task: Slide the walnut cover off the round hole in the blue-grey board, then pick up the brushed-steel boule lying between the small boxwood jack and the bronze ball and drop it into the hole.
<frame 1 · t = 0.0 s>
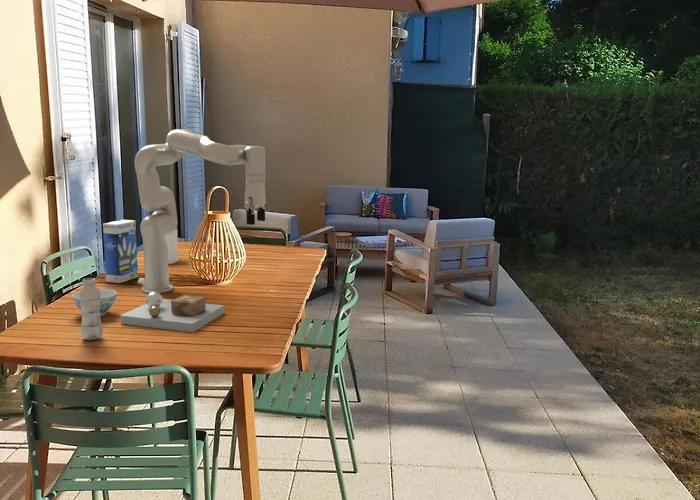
hand: (256, 222, 250), 31 cm above the table, tool pointing down, fingers open, 9 cm apart
chinaware: (96, 314, 234), on the table
bronze ball: (154, 311, 222), point 5 cm above the table, touching hole board
string lights box: (122, 279, 284), on the table
boxwood jack: (152, 298, 238), point 5 cm above the table, touching hole board
walnut cover: (188, 304, 228), point 6 cm above the table, slide at 0.0 cm
plastic bottle: (92, 339, 208), on the table
steel boule: (153, 300, 232), point 6 cm above the table, touching hole board
bottle: (164, 262, 320), on the table
hole board: (174, 318, 231), on the table
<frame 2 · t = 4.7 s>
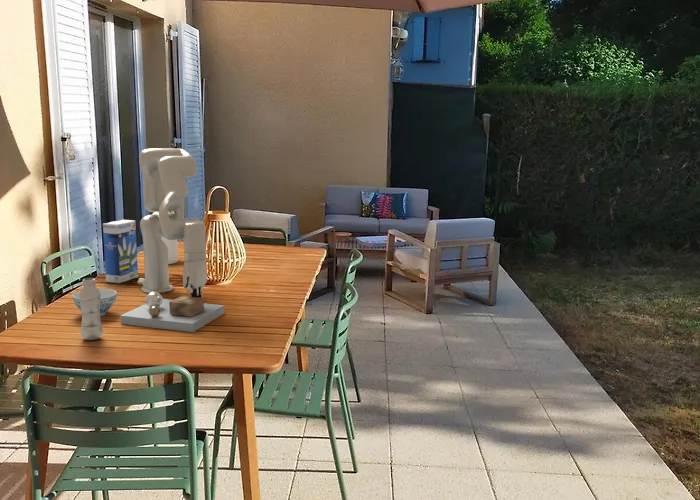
hand: (196, 305, 234), 4 cm above the table, tool pointing down, fingers closed
walnut cover: (186, 305, 227), point 6 cm above the table, slide at 1.2 cm, touching gripper
everything else where it was.
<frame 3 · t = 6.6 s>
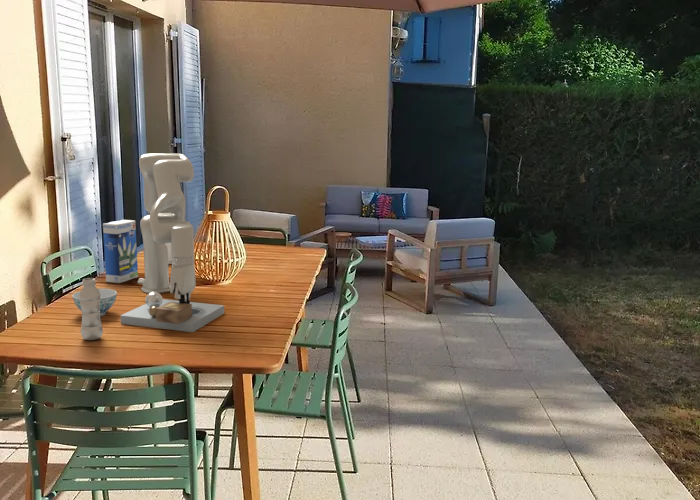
hand: (184, 311, 226), 4 cm above the table, tool pointing down, fingers closed
walnut cover: (174, 312, 219), point 6 cm above the table, slide at 9.7 cm, touching gripper
everything else where it was.
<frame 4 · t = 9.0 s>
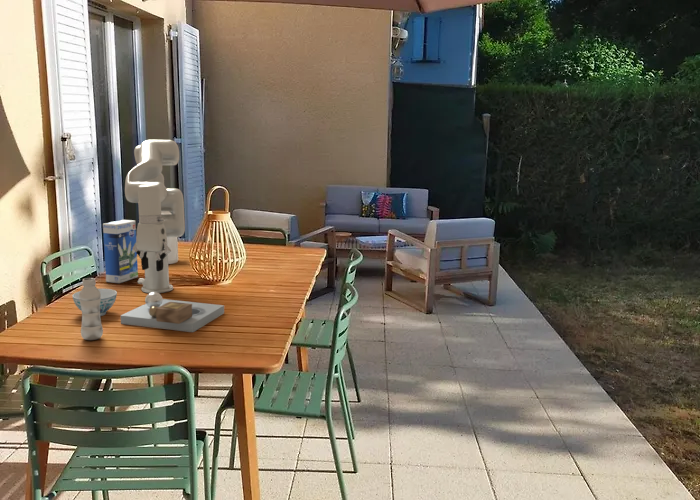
hand: (152, 269, 230), 17 cm above the table, tool pointing down, fingers open, 5 cm apart
walnut cover: (174, 312, 219), point 6 cm above the table, slide at 9.5 cm
everything else where it was.
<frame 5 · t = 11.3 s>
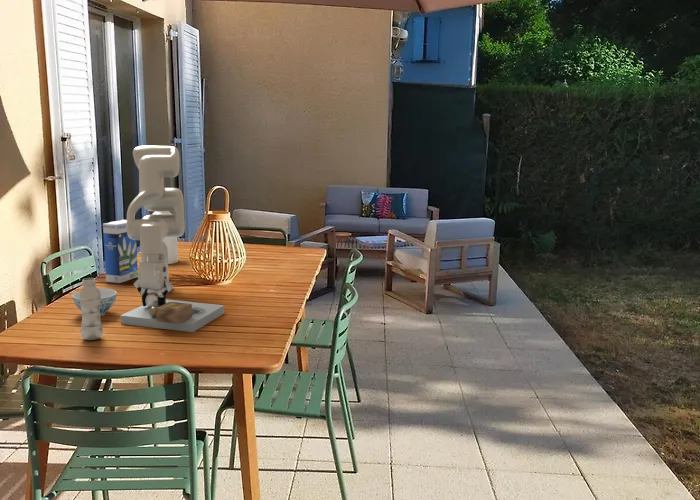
hand: (154, 305, 232), 4 cm above the table, tool pointing down, fingers closed on steel boule, 6 cm apart
steel boule: (153, 300, 232), point 6 cm above the table, touching gripper, hole board
everything else where it was.
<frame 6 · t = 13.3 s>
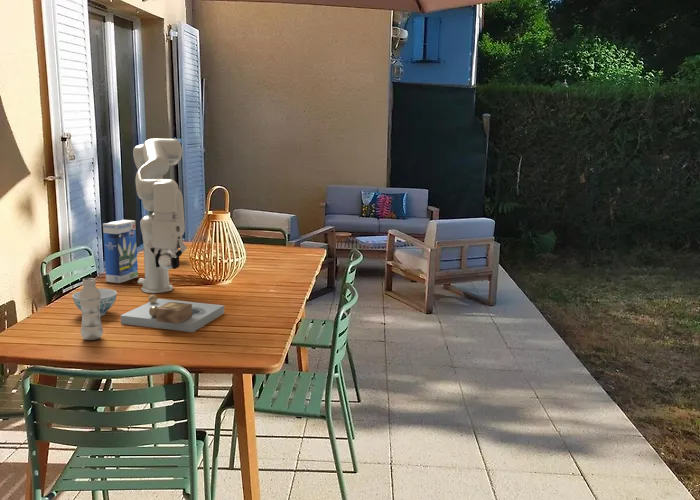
hand: (167, 266, 228), 19 cm above the table, tool pointing down, fingers closed on steel boule, 6 cm apart
steel boule: (167, 261, 227), point 21 cm above the table, touching gripper
everything else where it was.
when the fingers open (6 cm above the table, at t = 15.6 s): steel boule drops 5 cm, point 3 cm above the table.
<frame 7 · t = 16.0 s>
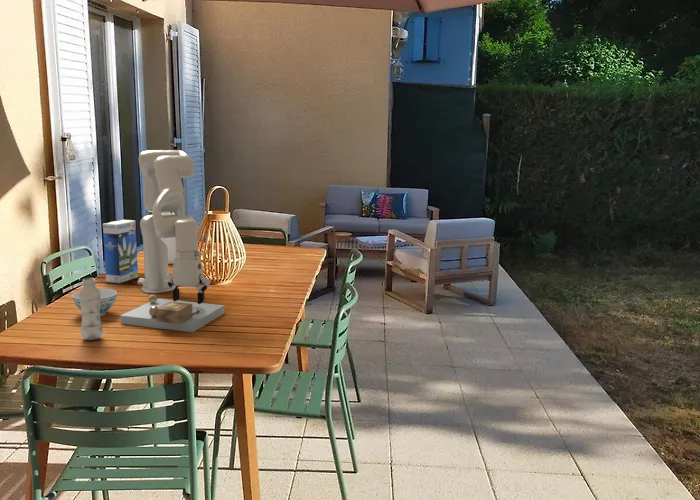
hand: (188, 301, 228), 7 cm above the table, tool pointing down, fingers open, 9 cm apart
steel boule: (188, 311, 229), point 3 cm above the table
everything else where it was.
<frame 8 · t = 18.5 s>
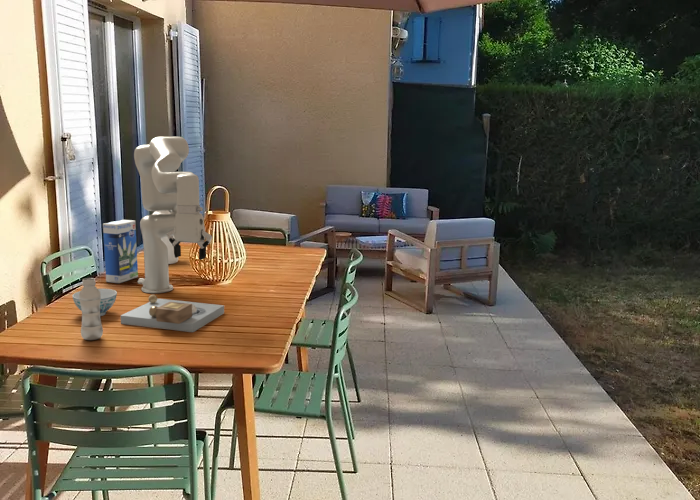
hand: (190, 257, 227), 22 cm above the table, tool pointing down, fingers open, 9 cm apart
nothing on the table moved.
at the end: steel boule 0.1 cm from the target spot in the hole board, point 3.0 cm above the hole board's base; walnut cover slide at 9.5 cm; the gripper is holding nothing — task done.
